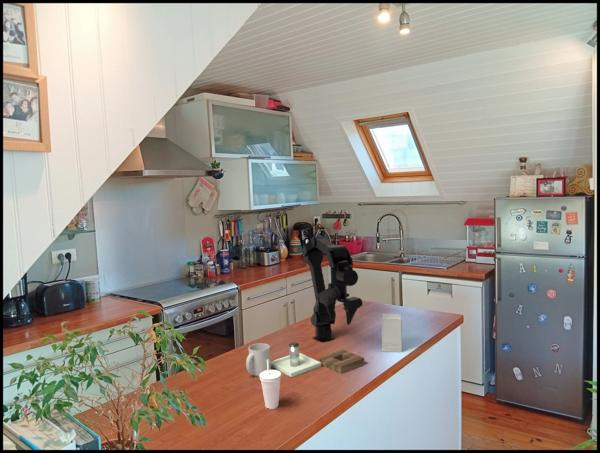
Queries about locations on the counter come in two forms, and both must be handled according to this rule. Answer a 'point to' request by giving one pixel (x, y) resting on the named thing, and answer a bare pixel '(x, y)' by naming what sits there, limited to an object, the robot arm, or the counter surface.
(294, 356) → the pin
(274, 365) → the tray
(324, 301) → the robot arm
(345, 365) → the socket
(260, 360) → the cup
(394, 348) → the supplement box
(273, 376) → the smoothie
